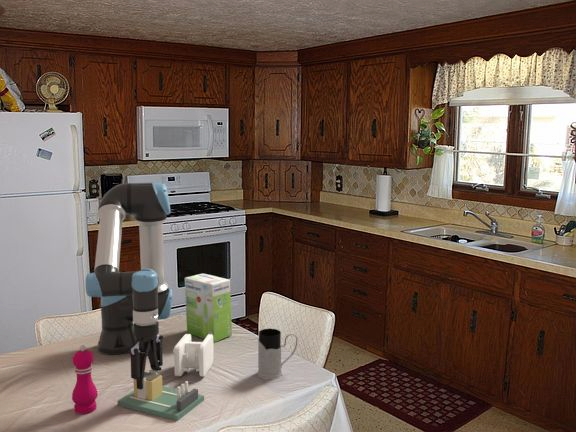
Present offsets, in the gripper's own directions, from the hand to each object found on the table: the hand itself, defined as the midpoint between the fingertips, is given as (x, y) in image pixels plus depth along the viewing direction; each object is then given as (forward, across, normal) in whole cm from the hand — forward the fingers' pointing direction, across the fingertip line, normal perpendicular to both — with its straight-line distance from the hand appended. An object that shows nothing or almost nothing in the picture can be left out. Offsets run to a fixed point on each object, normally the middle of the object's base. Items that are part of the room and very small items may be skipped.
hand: (148, 393), depth 172 cm
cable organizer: (+2, +24, -1) cm, 24 cm away
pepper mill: (+2, -13, +13) cm, 19 cm away
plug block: (0, 0, 0) cm, 0 cm away
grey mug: (+2, +35, -28) cm, 45 cm away
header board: (+2, 0, -5) cm, 5 cm away
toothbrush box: (+2, +57, +14) cm, 59 cm away
